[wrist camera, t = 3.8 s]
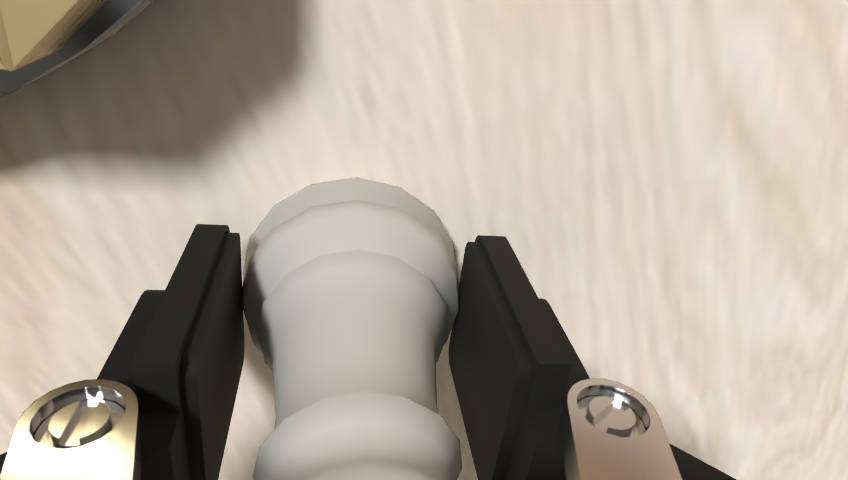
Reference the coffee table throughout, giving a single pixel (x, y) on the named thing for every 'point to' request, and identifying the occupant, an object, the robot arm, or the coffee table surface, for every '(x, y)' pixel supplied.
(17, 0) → the carrier plate
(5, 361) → the coffee table surface
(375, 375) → the rook chess piece
